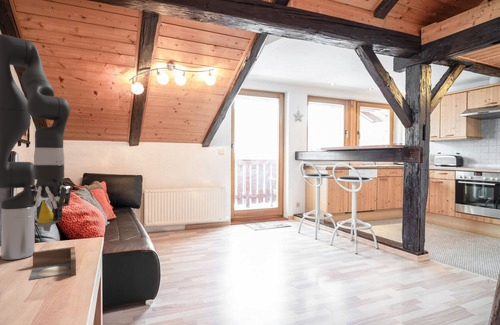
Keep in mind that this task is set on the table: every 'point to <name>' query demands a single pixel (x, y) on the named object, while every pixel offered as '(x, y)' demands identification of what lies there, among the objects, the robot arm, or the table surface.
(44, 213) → the drill bit
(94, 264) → the table surface
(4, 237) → the robot arm
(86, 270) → the table surface
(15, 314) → the table surface
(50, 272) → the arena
